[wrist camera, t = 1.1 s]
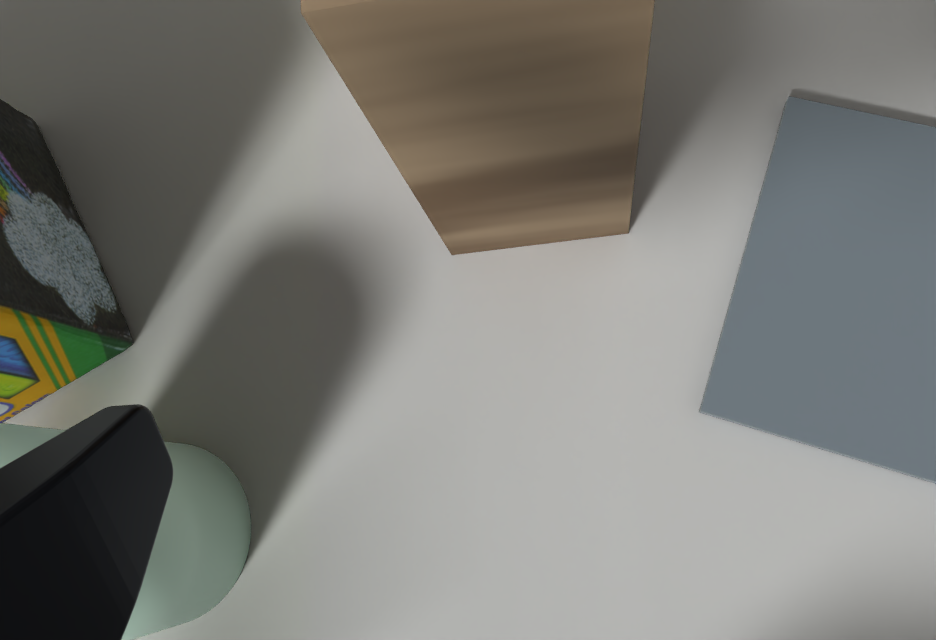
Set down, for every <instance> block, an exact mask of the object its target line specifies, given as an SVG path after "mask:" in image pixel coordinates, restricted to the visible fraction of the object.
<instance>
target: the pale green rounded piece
mask: <svg viewBox="0 0 936 640" xmlns="http://www.w3.org/2000/svg"><path fill="white" fill-rule="evenodd" d="M64 431H66V430H58V429H50V428H41V427H32V426H23V425H14V424H5V423H0V468H2V467H3V466H5V465H7V464H8V463H10V462H12V461H14V460H15V459H17V458H19V457H21V456H22V455H24V454H26V453H28V452H29V451H31V450H33V449H35V448H36V447H38V446H40V445H42V444H43V443H45V442H47V441H49V440H50V439H52V438H54V437H55V436H57V435H59V434H61V433H62V432H64ZM164 443H165V446H166V448H167V451H168V453H169V455H170V458H171V461H172V465H173V481H172V486H171V489H170V492H169V496H168V499H167V502H166V506H165V509H164V513H163V516H162V519H161V523H160V526H159V529H158V533H157V536H156V539H155V543H154V546H153V550H152V553H151V556H150V560H149V563H148V566H147V570H146V573H145V576H144V580H143V583H142V586H141V589H140V592H139V595H138V598H137V601H136V604H135V607H134V609H133V612H132V614H131V617H130V620H129V622H128V625H127V627H126V630H125V632H124V634H123V637H122V639H121V640H133V639H136V638H139V637H142V636H145V635H149V634H152V633H155V632H158V631H161V630H164V629H167V628H171V627H174V626H177V625H180V624H183V623H186V622H189V621H192V620H194V619H196V618H198V617H200V616H202V615H204V614H205V613H207V612H208V611H210V610H211V609H212V608H214V607H215V606H216V605H217V604H218V603H220V601H221V600H222V599H223V598H224V597H225V596H226V595H227V594H228V593H229V591H230V590H231V589H232V587H233V586H234V584H235V583H236V581H237V579H238V577H239V576H240V574H241V572H242V569H243V567H244V564H245V562H246V558H247V555H248V551H249V546H250V540H251V516H250V510H249V505H248V501H247V498H246V495H245V492H244V490H243V488H242V486H241V484H240V482H239V480H238V479H237V477H236V476H235V474H234V473H233V471H232V470H231V469H230V468H229V467H228V466H227V465H226V464H225V463H224V462H223V461H222V460H221V459H219V458H218V457H217V456H215V455H214V454H212V453H210V452H209V451H207V450H204V449H202V448H200V447H197V446H193V445H189V444H181V443H172V442H164Z"/></svg>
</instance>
